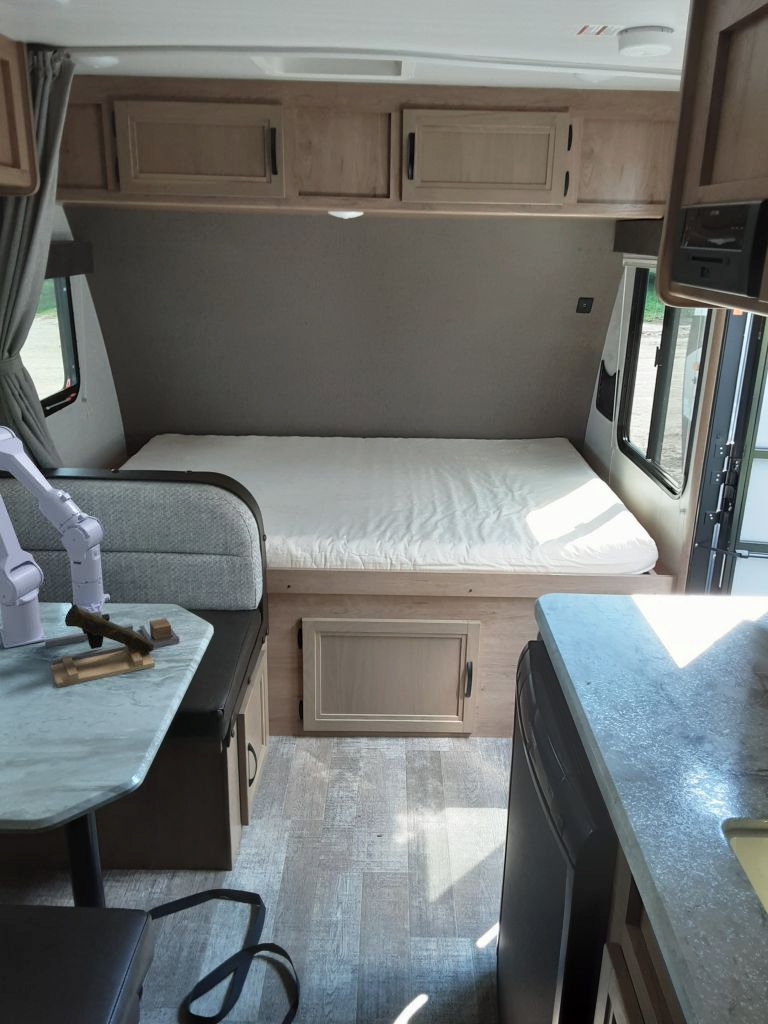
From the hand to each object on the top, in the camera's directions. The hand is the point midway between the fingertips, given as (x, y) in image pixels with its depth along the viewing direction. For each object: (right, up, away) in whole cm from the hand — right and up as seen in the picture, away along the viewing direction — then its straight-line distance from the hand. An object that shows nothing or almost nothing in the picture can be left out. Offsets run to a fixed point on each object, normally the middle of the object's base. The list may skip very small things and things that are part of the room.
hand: (92, 640), depth 164 cm
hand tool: (+5, +4, -5) cm, 8 cm away
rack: (+5, -4, -8) cm, 10 cm away
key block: (+13, 0, +5) cm, 14 cm away
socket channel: (0, -1, +1) cm, 2 cm away
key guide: (+12, 0, +6) cm, 13 cm away
